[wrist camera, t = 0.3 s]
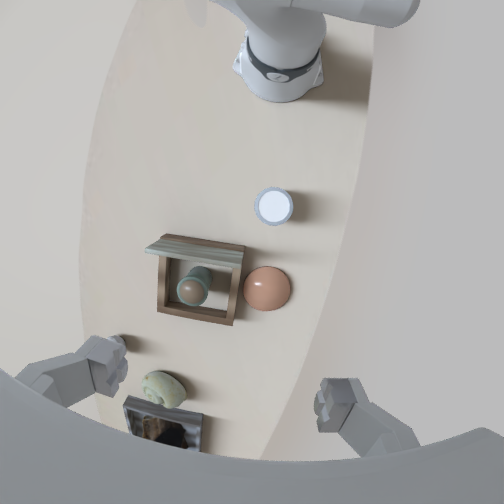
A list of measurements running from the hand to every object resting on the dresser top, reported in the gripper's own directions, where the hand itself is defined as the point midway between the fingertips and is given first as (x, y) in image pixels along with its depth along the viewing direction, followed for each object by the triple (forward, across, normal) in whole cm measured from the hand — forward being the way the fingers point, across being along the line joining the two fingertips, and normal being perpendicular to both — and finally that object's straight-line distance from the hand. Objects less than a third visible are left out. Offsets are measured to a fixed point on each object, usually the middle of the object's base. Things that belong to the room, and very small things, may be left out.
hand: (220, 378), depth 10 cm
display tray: (+47, +18, +70) cm, 86 cm away
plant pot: (+47, +9, +14) cm, 50 cm away
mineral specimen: (+46, +17, +70) cm, 86 cm away
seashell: (+47, +16, +47) cm, 69 cm away
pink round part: (+46, -6, +14) cm, 49 cm away
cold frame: (+46, +9, +14) cm, 49 cm away
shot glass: (+47, -4, -4) cm, 47 cm away
